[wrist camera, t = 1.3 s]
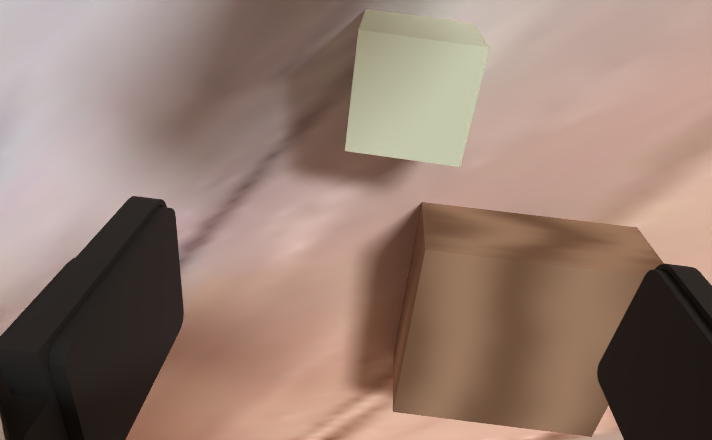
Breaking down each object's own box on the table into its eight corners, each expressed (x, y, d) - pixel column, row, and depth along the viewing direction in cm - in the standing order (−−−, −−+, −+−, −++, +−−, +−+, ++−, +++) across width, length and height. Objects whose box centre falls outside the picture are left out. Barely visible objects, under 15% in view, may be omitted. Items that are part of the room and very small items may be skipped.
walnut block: (634, 224, 28) (675, 280, 24) (568, 372, 35) (591, 436, 30) (421, 199, 29) (425, 249, 24) (393, 350, 35) (393, 411, 31)
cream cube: (473, 22, 23) (489, 47, 19) (450, 125, 26) (460, 166, 22) (366, 8, 23) (358, 29, 19) (354, 111, 26) (344, 151, 22)
